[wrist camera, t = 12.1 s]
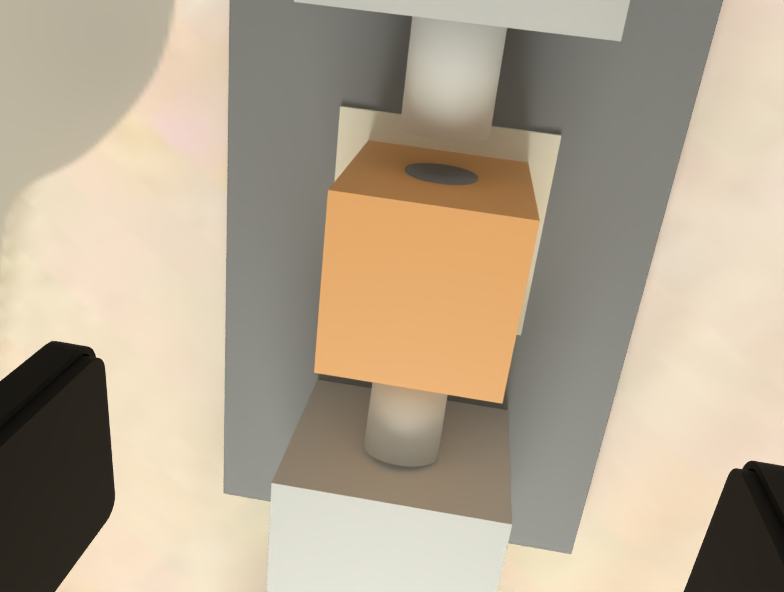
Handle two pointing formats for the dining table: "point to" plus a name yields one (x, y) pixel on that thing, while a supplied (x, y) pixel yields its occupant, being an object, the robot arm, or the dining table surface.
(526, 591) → the dining table surface
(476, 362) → the orange block
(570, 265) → the shaft rig
